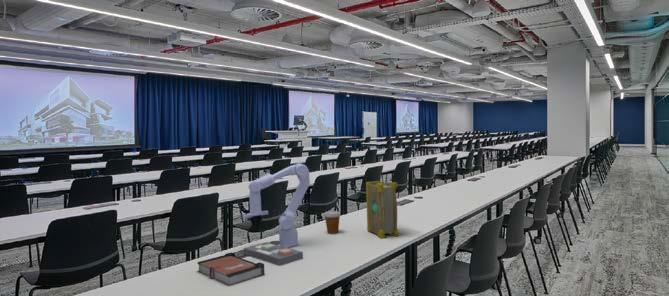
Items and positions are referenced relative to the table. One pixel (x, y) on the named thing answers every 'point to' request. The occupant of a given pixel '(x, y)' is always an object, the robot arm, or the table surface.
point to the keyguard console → (272, 254)
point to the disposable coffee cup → (332, 221)
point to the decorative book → (381, 208)
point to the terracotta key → (285, 252)
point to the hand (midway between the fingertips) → (256, 230)
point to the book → (230, 269)
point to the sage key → (268, 247)
